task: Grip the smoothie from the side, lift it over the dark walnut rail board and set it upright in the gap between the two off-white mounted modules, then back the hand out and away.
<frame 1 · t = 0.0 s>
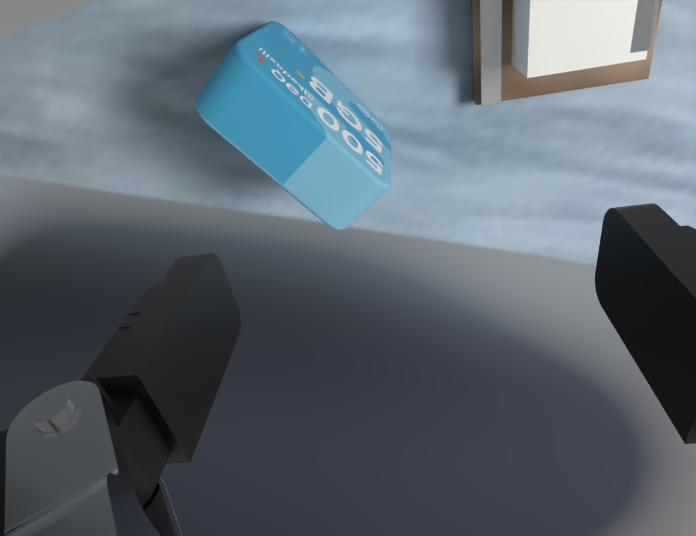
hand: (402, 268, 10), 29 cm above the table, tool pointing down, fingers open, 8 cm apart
data package: (318, 98, 37), on the table
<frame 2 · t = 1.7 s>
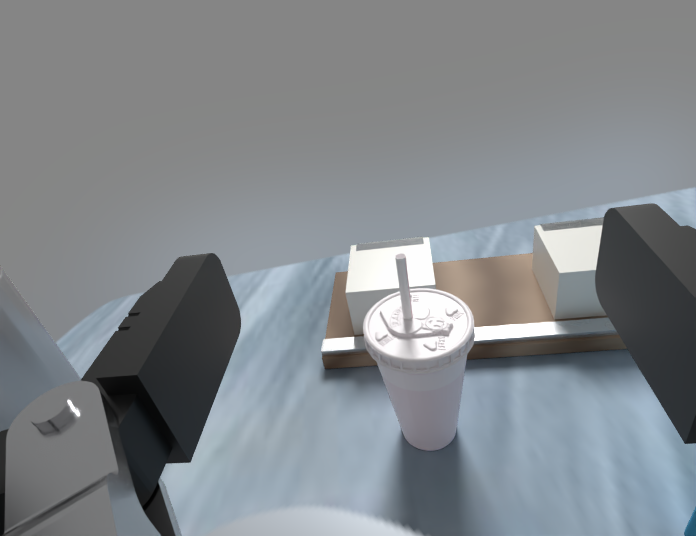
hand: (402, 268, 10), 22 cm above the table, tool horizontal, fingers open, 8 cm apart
smoothie: (429, 428, 32), on the table
rail board: (487, 307, 41), on the table
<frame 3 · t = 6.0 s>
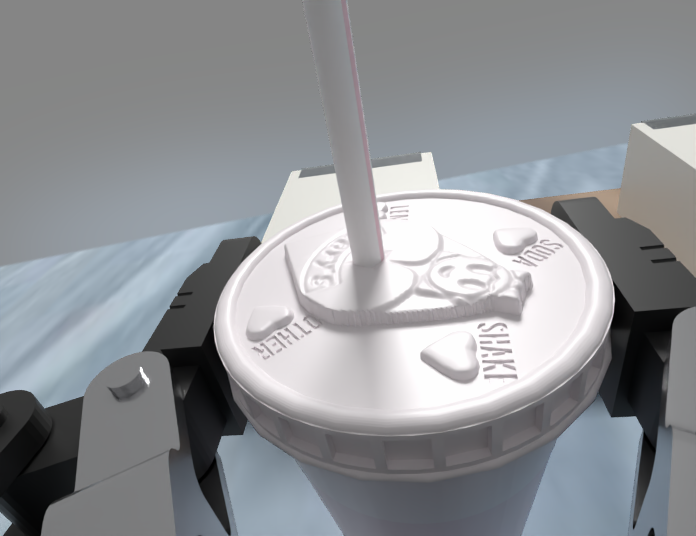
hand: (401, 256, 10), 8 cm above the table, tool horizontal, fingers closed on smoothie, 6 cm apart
rail board: (541, 280, 22), on the table
when the fingers open (11 cm above the table, at t = 10.8 s): smoothie drops 1 cm, resting on rail board.
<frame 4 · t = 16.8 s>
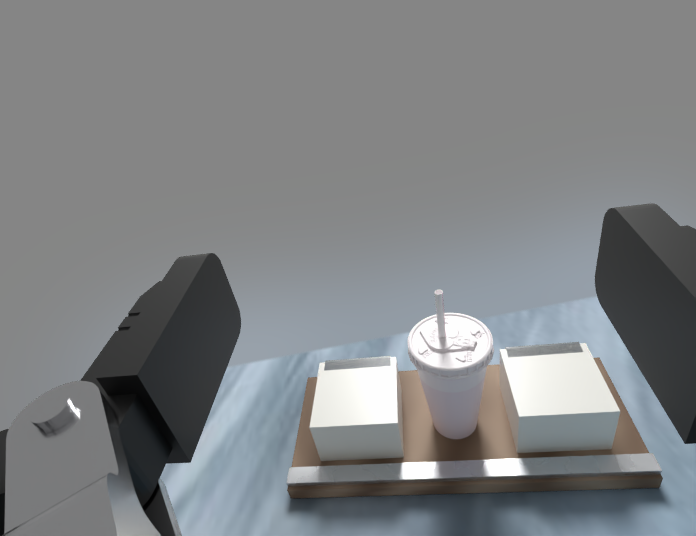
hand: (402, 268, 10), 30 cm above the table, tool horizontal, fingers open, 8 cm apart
smoothie: (455, 422, 40), point 1 cm above the table, touching rail board
rail board: (454, 427, 41), on the table
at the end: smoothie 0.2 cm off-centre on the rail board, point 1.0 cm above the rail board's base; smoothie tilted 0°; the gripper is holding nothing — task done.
